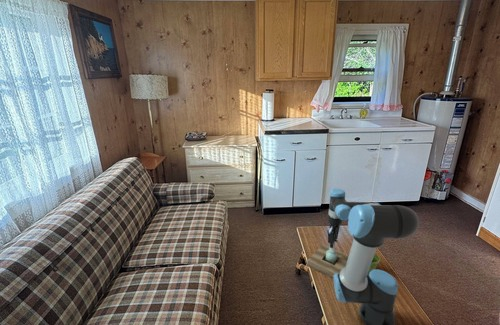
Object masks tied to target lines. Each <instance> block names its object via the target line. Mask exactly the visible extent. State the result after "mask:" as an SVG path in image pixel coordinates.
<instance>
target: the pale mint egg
mask: <svg viewBox="0 0 500 325" xmlns="http://www.w3.org/2000/svg"><path fill="white" fill-rule="evenodd" d="M336 257H337V253H336V252H335V251H334V253H333V252H330V251H329V250H327V251H326V259H325V261H326V262H328V263H331V264H333V265H334V264H336V263H337V262H336Z"/></svg>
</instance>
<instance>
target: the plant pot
mask: <svg viewBox="0 0 500 325" xmlns="http://www.w3.org/2000/svg"><path fill="white" fill-rule="evenodd" d="M380 262H381V258H380V256H379V255H378V254H376V253H375V254H374V257H373V260H372V262H371V265H370V268H369V270H368V273H367V274H369V273H370V271H372V270H374V269H376V268H377V266H378V264H379V263H380Z"/></svg>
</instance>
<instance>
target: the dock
mask: <svg viewBox="0 0 500 325" xmlns="http://www.w3.org/2000/svg"><path fill="white" fill-rule="evenodd" d="M327 250H329V245H326V244H323V243H322V244H321V245H320V246H319V248H318V249H316V251H314V253H312V255H310V257H309V258H308V259H307V261H306V266H307V267H309V268H311V269H313V270H315V271H317V272H319V273H321V274H322V275H325V276H326V277H329V278H331V279H333V277H334V274H337V273H338V274H340V271H341V270H342V269H343V268H344V267H346V264H347V260H348V257H349V254H347V253H345V252H342V251H340V250H337V249H335V250H334V251H335V252H336V253H337V257H336V262H335V263H333V264H331V263H328V262H327V261H326V260H325V259H326V251H327Z"/></svg>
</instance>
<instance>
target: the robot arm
mask: <svg viewBox="0 0 500 325" xmlns="http://www.w3.org/2000/svg"><path fill="white" fill-rule="evenodd" d="M328 206H329V207H328V216H327V221H328V223H329V229H328V230H327V243H329V245H328V246H329V251H330V252H333V253H334V250H335V248H336V243H338V237H339V232H340V227H341V225H342V223H343V221H347V228H348V233H349V234H350V235H351V237H352V239H353V240H352V243H351V247H350V250H349V253H348V255H349V257H348V260H347V264H346V267H344V268H343V269H342V270H341V271H340V274H338V273H337V274H334V277H333V278H332V279H333V287H334V293H335V297H336V299H337V301H338V302H340V303H346V304H350V303H351V304H360V306H359V311H358V313H359V317H360V319H361V321H362V322H363V323H364V324H365V325H396V314H395V311H394V309H395V308H394V307H395V303H396V298H397V294H398V289H399V284H398V282H397V280H396V278H395V277H394V276H393V275H392V274H390V273H389V272H387V271H385V270H382V269H374V270H372V271H370V273H368V270H369V268H370V265H371V262H372V260H373V257H374V254H376V252H377V248H378V249H379V248H380V247H382V246H383V245H384V243H385V240H386V239H405V238H409V237H410V236H412V235H414V234H416V233H417V230H418V229H419V226H420V220H419V217H418V215H417V213H416V212H415V211H414V210H413V209H411V208H410V207H407V206H405V205H399V204H397V205H396V204H393V205H391V204H388V205H387V204H383V205H382V204H380V203H379V202H376V201H366V202H365V201H347V200H346V192H345V190H344V189H341V188H333V189H331V190H330V195H329V205H328Z"/></svg>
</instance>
